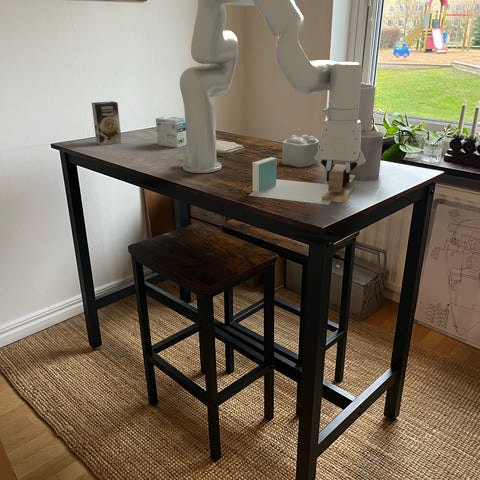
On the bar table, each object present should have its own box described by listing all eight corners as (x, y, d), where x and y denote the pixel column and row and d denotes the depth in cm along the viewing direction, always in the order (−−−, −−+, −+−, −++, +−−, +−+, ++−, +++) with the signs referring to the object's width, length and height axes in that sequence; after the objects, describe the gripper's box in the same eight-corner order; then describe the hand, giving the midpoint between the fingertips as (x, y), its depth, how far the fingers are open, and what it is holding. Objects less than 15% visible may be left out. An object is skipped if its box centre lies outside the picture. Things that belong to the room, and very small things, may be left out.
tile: (252, 190, 132) (252, 162, 129) (270, 184, 138) (271, 157, 134) (258, 192, 131) (258, 163, 128) (276, 185, 136) (276, 158, 133)
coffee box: (100, 145, 190) (94, 104, 184) (96, 142, 196) (90, 102, 189) (122, 142, 195) (117, 102, 188) (117, 140, 200) (113, 100, 193)
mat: (248, 197, 129) (248, 195, 129) (268, 180, 143) (268, 178, 143) (328, 206, 121) (328, 204, 121) (341, 187, 136) (341, 185, 135)
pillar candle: (343, 174, 149) (347, 125, 142) (375, 173, 148) (380, 125, 142) (349, 183, 140) (353, 132, 134) (382, 183, 139) (388, 132, 133)
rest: (321, 202, 125) (322, 195, 124) (331, 189, 135) (331, 182, 134) (344, 204, 123) (345, 198, 122) (352, 191, 133) (353, 185, 132)
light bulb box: (188, 144, 190) (187, 117, 186) (178, 148, 185) (176, 120, 180) (168, 142, 195) (166, 115, 191) (157, 145, 190) (154, 117, 186)
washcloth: (226, 158, 171) (226, 149, 170) (190, 151, 182) (190, 143, 180) (246, 152, 179) (246, 143, 178) (212, 145, 190) (211, 138, 189)
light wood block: (345, 192, 122) (346, 174, 120) (323, 190, 124) (324, 172, 122) (354, 176, 134) (356, 159, 132) (334, 175, 136) (336, 157, 134)
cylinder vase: (344, 170, 152) (350, 89, 142) (322, 161, 163) (327, 85, 153) (375, 165, 157) (384, 86, 147) (353, 157, 167) (359, 83, 157)
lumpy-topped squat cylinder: (277, 162, 163) (278, 137, 159) (301, 155, 171) (302, 131, 168) (302, 168, 156) (303, 141, 153) (325, 160, 165) (326, 135, 161)
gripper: (307, 115, 119) (304, 186, 126) (374, 119, 113) (366, 192, 120) (314, 110, 125) (311, 178, 133) (378, 114, 119) (371, 184, 127)
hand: (337, 184), depth 126 cm, fingers closed on light wood block, 3 cm apart
